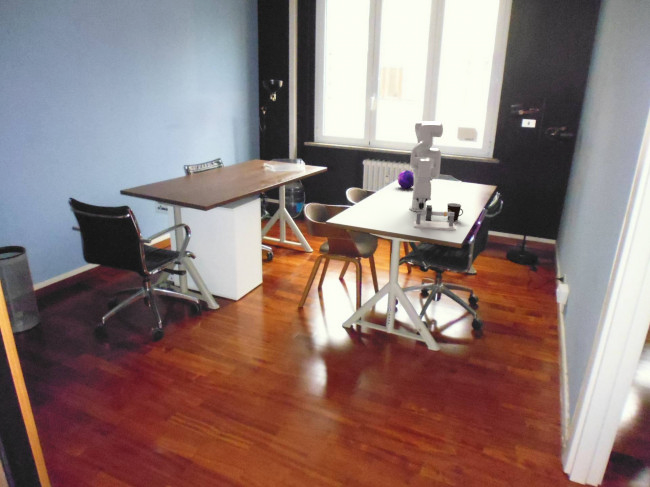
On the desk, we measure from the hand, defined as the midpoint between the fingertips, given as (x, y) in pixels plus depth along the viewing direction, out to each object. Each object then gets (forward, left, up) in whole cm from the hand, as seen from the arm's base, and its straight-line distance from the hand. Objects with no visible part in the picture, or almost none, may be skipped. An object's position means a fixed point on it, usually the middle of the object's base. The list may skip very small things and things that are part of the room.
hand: (421, 208), depth 295 cm
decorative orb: (-107, -9, -11) cm, 108 cm away
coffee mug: (-16, +22, -10) cm, 29 cm away
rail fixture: (0, +9, -10) cm, 14 cm away
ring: (0, +5, -6) cm, 8 cm away
